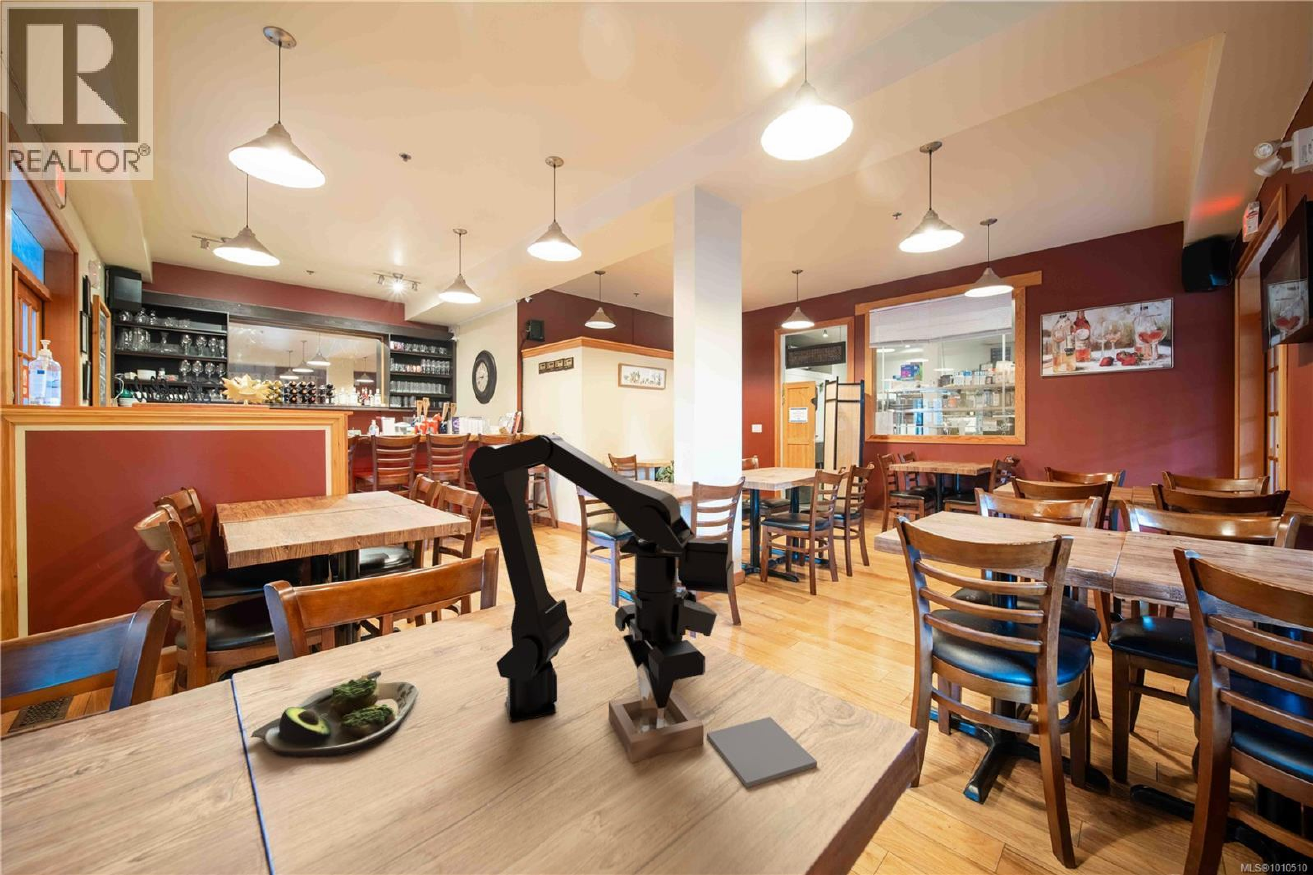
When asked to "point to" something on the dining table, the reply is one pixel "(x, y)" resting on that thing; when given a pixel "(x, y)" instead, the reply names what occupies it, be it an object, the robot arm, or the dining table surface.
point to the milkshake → (649, 704)
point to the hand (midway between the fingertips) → (655, 698)
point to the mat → (760, 751)
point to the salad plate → (339, 719)
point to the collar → (656, 740)
